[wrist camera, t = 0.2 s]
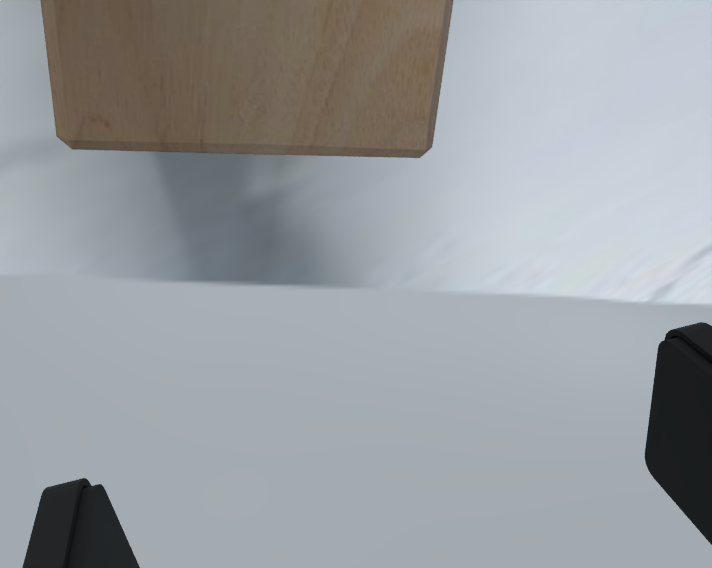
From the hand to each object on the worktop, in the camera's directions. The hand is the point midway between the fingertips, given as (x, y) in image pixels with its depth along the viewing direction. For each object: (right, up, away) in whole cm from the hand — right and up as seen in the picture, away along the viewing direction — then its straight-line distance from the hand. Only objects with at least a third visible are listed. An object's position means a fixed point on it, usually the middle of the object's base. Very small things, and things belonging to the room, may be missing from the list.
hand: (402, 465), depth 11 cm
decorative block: (-8, +18, +25) cm, 32 cm away
